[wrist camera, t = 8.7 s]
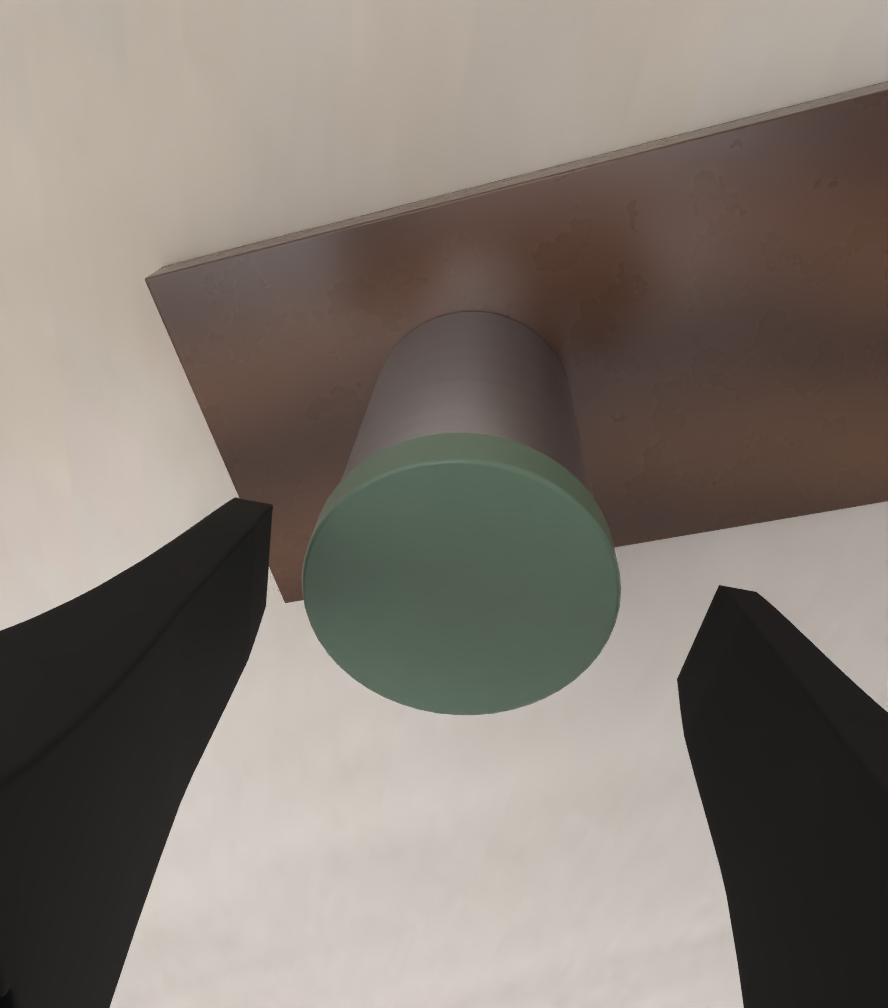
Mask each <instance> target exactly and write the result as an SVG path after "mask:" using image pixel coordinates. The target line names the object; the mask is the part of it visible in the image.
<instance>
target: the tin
mask: <svg viewBox="0 0 888 1008" xmlns="http://www.w3.org/2000/svg"><path fill="white" fill-rule="evenodd" d="M302 593H303V599H304V605H305V609H306V612H307V615H308V618H309V621H310V624H311V626H312V628H313V630H314V632H315V634H316V636H317V638H318V640H319V641H320V643H321V644H322V646H323V647H324V648H325V650H326V651H327V653H328V654H329V655H330V656H331V657H332V659H333V660H334V661H335V662H336V663H337V664H338V665H339V666H340V667H341V668H342V669H343V670H344V671H345V672H347V673H348V674H349V675H350V676H351V677H352V678H354V679H355V680H356V681H358V682H359V683H361V684H362V685H364V686H365V687H367V688H368V689H370V690H372V691H374V692H376V693H377V694H379V695H381V696H383V697H385V698H388V699H390V700H392V701H395V702H397V703H400V704H403V705H406V706H409V707H413V708H416V709H419V710H424V711H429V712H434V713H442V714H452V715H480V714H492V713H497V712H503V711H508V710H513V709H516V708H519V707H523V706H526V705H529V704H532V703H534V702H537V701H539V700H541V699H544V698H546V697H548V696H550V695H552V694H553V693H555V692H557V691H559V690H561V689H562V688H564V687H565V686H566V685H568V684H569V683H571V682H572V681H573V680H575V679H576V678H577V677H578V676H579V675H580V674H582V673H583V672H584V671H585V670H586V669H587V668H588V667H589V666H590V665H591V663H592V662H593V661H594V660H595V659H596V657H597V656H598V655H599V654H600V652H601V650H602V649H603V647H604V646H605V644H606V642H607V641H608V639H609V637H610V634H611V632H612V630H613V627H614V625H615V623H616V619H617V615H618V611H619V607H620V596H621V583H620V572H619V567H618V563H617V559H616V555H615V551H614V546H613V542H612V538H611V534H610V530H609V527H608V524H607V522H606V520H605V517H604V515H603V513H602V510H601V509H600V507H599V506H598V504H597V502H596V501H595V499H594V497H593V493H592V488H591V484H590V479H589V475H588V470H587V465H586V461H585V456H584V452H583V447H582V443H581V438H580V434H579V429H578V424H577V420H576V415H575V411H574V406H573V402H572V397H571V392H570V388H569V384H568V380H567V376H566V374H565V371H564V369H563V366H562V364H561V362H560V361H559V359H558V357H557V356H556V354H555V353H554V351H553V350H552V349H551V348H550V346H549V345H548V344H547V343H546V342H545V341H544V340H543V339H542V338H541V337H540V336H539V335H538V334H536V333H535V332H533V331H532V330H531V329H529V328H528V327H526V326H524V325H523V324H521V323H519V322H517V321H515V320H512V319H510V318H507V317H504V316H501V315H497V314H492V313H486V312H476V311H474V312H458V313H452V314H447V315H444V316H440V317H437V318H434V319H432V320H430V321H428V322H425V323H423V324H422V325H420V326H418V327H417V328H415V329H414V330H412V331H411V332H410V333H408V334H407V335H406V336H405V337H404V338H402V339H401V341H400V342H399V343H398V344H397V345H396V346H395V347H394V348H393V350H392V351H391V353H390V354H389V356H388V357H387V358H386V360H385V362H384V364H383V366H382V368H381V371H380V374H379V377H378V379H377V382H376V385H375V388H374V390H373V393H372V396H371V399H370V402H369V404H368V407H367V410H366V413H365V416H364V418H363V421H362V424H361V427H360V430H359V432H358V435H357V438H356V441H355V443H354V446H353V449H352V452H351V455H350V457H349V460H348V463H347V466H346V469H345V471H344V474H343V477H342V480H341V482H340V483H339V484H338V485H337V486H336V488H335V489H334V491H333V492H332V493H331V495H330V496H329V498H328V499H327V501H326V503H325V505H324V507H323V509H322V511H321V513H320V515H319V517H318V520H317V523H316V525H315V528H314V531H313V533H312V536H311V539H310V541H309V544H308V547H307V551H306V554H305V557H304V563H303V570H302Z"/></svg>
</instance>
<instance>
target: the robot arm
mask: <svg viewBox="0 0 888 1008" xmlns="http://www.w3.org/2000/svg"><path fill="white" fill-rule="evenodd" d="M272 511H273V504H267V503H262V502H256V501H251V500H245V499H239V498H233V499H232V500H230V501H229V502H227V503H226V504H224V505H223V506H221V507H220V508H218V509H217V510H215V511H214V512H212V513H211V514H210V515H208V516H207V517H205V518H204V519H203V520H201V521H200V522H198V523H197V524H196V525H194V526H193V527H191V528H190V529H188V530H187V531H185V532H184V533H183V534H181V535H180V536H178V537H177V538H175V539H174V540H172V541H171V542H169V543H168V544H166V545H165V546H163V547H162V548H160V549H159V550H157V551H156V552H154V553H153V554H151V555H150V556H148V557H147V558H145V559H144V560H142V561H140V562H139V563H137V564H135V565H134V566H132V567H130V568H128V569H127V570H125V571H123V572H122V573H120V574H118V575H117V576H115V577H113V578H112V579H110V580H108V581H106V582H105V583H103V584H101V585H100V586H98V587H96V588H94V589H92V590H90V591H88V592H86V593H84V594H82V595H80V596H78V597H76V598H75V599H73V600H71V601H68V602H66V603H64V604H62V605H60V606H58V607H56V608H53V609H51V610H49V611H47V612H45V613H43V614H41V615H39V616H36V617H34V618H32V619H29V620H27V621H25V622H22V623H20V624H17V625H14V626H12V627H9V628H7V629H4V630H1V631H0V1008H109V1007H110V1004H111V1001H112V998H113V995H114V992H115V989H116V986H117V983H118V980H119V977H120V974H121V971H122V968H123V965H124V962H125V959H126V956H127V953H128V950H129V947H130V944H131V941H132V938H133V935H134V932H135V929H136V926H137V923H138V920H139V917H140V915H141V912H142V909H143V906H144V903H145V900H146V897H147V895H148V892H149V889H150V886H151V883H152V880H153V877H154V874H155V872H156V869H157V866H158V863H159V860H160V858H161V855H162V852H163V849H164V847H165V844H166V841H167V838H168V836H169V833H170V830H171V827H172V825H173V822H174V819H175V816H176V814H177V811H178V808H179V805H180V803H181V800H182V798H183V796H184V794H185V791H186V789H187V787H188V784H189V782H190V780H191V777H192V775H193V773H194V771H195V769H196V767H197V765H198V763H199V761H200V759H201V757H202V755H203V752H204V750H205V748H206V746H207V744H208V742H209V740H210V738H211V736H212V734H213V732H214V730H215V728H216V726H217V724H218V722H219V720H220V717H221V715H222V713H223V711H224V709H225V707H226V705H227V703H228V701H229V699H230V697H231V695H232V693H233V691H234V688H235V686H236V684H237V682H238V680H239V678H240V676H241V674H242V672H243V670H244V667H245V665H246V663H247V661H248V659H249V656H250V653H251V650H252V647H253V644H254V641H255V638H256V635H257V632H258V629H259V626H260V623H261V620H262V617H263V613H264V610H265V607H266V596H267V582H268V567H269V553H270V539H271V525H272ZM677 682H678V691H679V700H680V710H681V717H682V724H683V731H684V737H685V741H686V745H687V749H688V753H689V756H690V760H691V764H692V767H693V771H694V775H695V779H696V782H697V786H698V789H699V793H700V797H701V800H702V804H703V807H704V811H705V814H706V818H707V822H708V825H709V829H710V832H711V836H712V840H713V843H714V847H715V850H716V854H717V858H718V861H719V865H720V869H721V873H722V878H723V882H724V886H725V891H726V895H727V901H728V907H729V913H730V919H731V925H732V931H733V937H734V943H735V949H736V955H737V961H738V968H739V975H740V983H741V990H742V997H743V1004H744V1008H888V712H887V711H885V710H884V709H883V708H882V707H881V706H880V705H878V704H877V703H876V702H875V701H874V700H873V699H872V698H871V697H869V696H868V695H867V694H866V693H865V692H864V691H863V690H862V689H861V688H859V687H858V686H857V685H856V684H855V683H854V682H853V681H852V680H851V679H850V678H849V677H848V676H846V675H845V674H844V673H843V672H842V671H841V670H840V669H839V668H838V667H837V666H836V665H835V664H834V663H833V662H832V661H831V660H829V659H828V658H827V657H826V656H825V655H824V654H823V653H822V652H821V651H820V650H819V649H818V648H817V647H816V646H815V645H814V644H813V643H812V642H811V641H810V640H809V639H808V638H807V637H805V636H804V635H803V634H802V633H801V632H800V631H799V630H798V629H797V628H796V627H795V626H794V625H793V624H792V623H791V622H790V621H789V620H788V619H787V618H786V617H784V616H783V615H782V614H781V613H780V612H779V611H778V610H777V609H776V608H775V607H774V606H772V605H771V604H770V603H769V602H768V601H767V600H766V599H764V598H763V597H762V596H761V595H759V594H758V593H757V592H754V591H748V590H743V589H737V588H732V587H726V586H721V585H719V587H718V589H717V591H716V593H715V595H714V598H713V600H712V602H711V604H710V607H709V609H708V611H707V613H706V616H705V618H704V620H703V622H702V625H701V627H700V629H699V631H698V634H697V636H696V638H695V640H694V643H693V645H692V647H691V649H690V651H689V654H688V656H687V658H686V660H685V663H684V665H683V667H682V669H681V672H680V674H679V676H678V678H677Z"/></svg>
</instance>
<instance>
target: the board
mask: <svg viewBox="0 0 888 1008" xmlns="http://www.w3.org/2000/svg"><path fill="white" fill-rule="evenodd" d="M145 281H146V283H147V286H148V288H149V290H150V293H151V295H152V297H153V300H154V302H155V304H156V306H157V309H158V311H159V313H160V316H161V318H162V320H163V323H164V325H165V327H166V330H167V332H168V334H169V336H170V339H171V341H172V343H173V346H174V348H175V350H176V353H177V355H178V357H179V359H180V362H181V364H182V366H183V369H184V371H185V373H186V376H187V378H188V380H189V383H190V385H191V387H192V389H193V392H194V394H195V396H196V399H197V401H198V403H199V406H200V408H201V410H202V413H203V415H204V417H205V419H206V422H207V424H208V426H209V429H210V431H211V433H212V436H213V438H214V440H215V442H216V445H217V447H218V449H219V452H220V454H221V456H222V459H223V461H224V463H225V466H226V468H227V470H228V472H229V475H230V477H231V479H232V482H233V484H234V486H235V489H236V491H237V493H238V495H239V498H240V499H245V500H251V501H256V502H262V503H267V504H273V511H272V525H271V539H270V553H269V567H270V569H271V572H272V574H273V576H274V578H275V581H276V583H277V585H278V588H279V590H280V592H281V595H282V597H283V599H284V602H285V603H288V602H294V601H300V600H304V599H303V593H302V570H303V563H304V557H305V554H306V551H307V547H308V544H309V541H310V539H311V536H312V533H313V531H314V528H315V525H316V523H317V520H318V517H319V515H320V513H321V511H322V509H323V507H324V505H325V503H326V501H327V499H328V498H329V496H330V495H331V493H332V492H333V491H334V489H335V488H336V486H337V485H338V484H339V483H340V482H341V480H342V477H343V474H344V471H345V469H346V466H347V463H348V460H349V457H350V455H351V452H352V449H353V446H354V443H355V441H356V438H357V435H358V432H359V430H360V427H361V424H362V421H363V418H364V416H365V413H366V410H367V407H368V404H369V402H370V399H371V396H372V393H373V390H374V388H375V385H376V382H377V379H378V377H379V374H380V371H381V368H382V366H383V364H384V362H385V360H386V358H387V357H388V356H389V354H390V353H391V351H392V350H393V348H394V347H395V346H396V345H397V344H398V343H399V342H400V341H401V339H402V338H404V337H405V336H406V335H407V334H408V333H410V332H411V331H412V330H414V329H415V328H417V327H418V326H420V325H422V324H423V323H425V322H428V321H430V320H432V319H434V318H437V317H440V316H444V315H447V314H452V313H458V312H474V311H476V312H486V313H492V314H497V315H501V316H504V317H507V318H510V319H512V320H515V321H517V322H519V323H521V324H523V325H524V326H526V327H528V328H529V329H531V330H532V331H533V332H535V333H536V334H538V335H539V336H540V337H541V338H542V339H543V340H544V341H545V342H546V343H547V344H548V345H549V346H550V348H551V349H552V350H553V351H554V353H555V354H556V356H557V357H558V359H559V361H560V362H561V364H562V366H563V369H564V371H565V374H566V376H567V380H568V384H569V388H570V392H571V397H572V402H573V406H574V411H575V415H576V420H577V424H578V429H579V434H580V438H581V443H582V447H583V452H584V456H585V461H586V465H587V470H588V475H589V479H590V484H591V488H592V493H593V497H594V499H595V501H596V502H597V504H598V506H599V507H600V509H601V510H602V513H603V515H604V517H605V520H606V522H607V524H608V527H609V530H610V534H611V538H612V542H613V546H614V547H619V546H625V545H631V544H637V543H643V542H649V541H655V540H661V539H666V538H672V537H678V536H684V535H690V534H696V533H702V532H708V531H714V530H720V529H726V528H732V527H737V526H743V525H749V524H755V523H761V522H767V521H773V520H779V519H785V518H791V517H797V516H802V515H808V514H814V513H820V512H826V511H832V510H838V509H844V508H850V507H856V506H862V505H868V504H873V503H879V502H885V501H888V81H887V82H883V83H879V84H876V85H872V86H868V87H864V88H860V89H856V90H852V91H848V92H844V93H840V94H836V95H833V96H829V97H825V98H821V99H817V100H813V101H809V102H805V103H801V104H797V105H793V106H790V107H786V108H782V109H778V110H774V111H770V112H766V113H762V114H758V115H754V116H750V117H747V118H743V119H739V120H735V121H731V122H727V123H723V124H719V125H715V126H711V127H707V128H704V129H700V130H696V131H692V132H688V133H684V134H680V135H676V136H672V137H668V138H664V139H661V140H657V141H653V142H649V143H645V144H641V145H637V146H633V147H629V148H625V149H621V150H618V151H614V152H610V153H606V154H602V155H598V156H594V157H590V158H586V159H582V160H578V161H575V162H571V163H567V164H563V165H559V166H555V167H551V168H547V169H543V170H539V171H535V172H532V173H528V174H524V175H520V176H516V177H512V178H508V179H504V180H500V181H496V182H492V183H489V184H485V185H481V186H477V187H473V188H469V189H465V190H461V191H457V192H453V193H449V194H446V195H442V196H438V197H434V198H430V199H426V200H422V201H418V202H414V203H410V204H406V205H403V206H399V207H395V208H391V209H387V210H383V211H379V212H375V213H371V214H367V215H363V216H360V217H356V218H352V219H348V220H344V221H340V222H336V223H332V224H328V225H324V226H320V227H317V228H313V229H309V230H305V231H301V232H297V233H293V234H289V235H285V236H281V237H277V238H274V239H270V240H266V241H262V242H258V243H254V244H250V245H246V246H242V247H238V248H234V249H231V250H227V251H223V252H219V253H215V254H211V255H207V256H203V257H199V258H195V259H191V260H188V261H184V262H180V263H176V264H172V265H168V266H164V267H162V268H160V269H159V270H157V271H156V272H154V273H153V274H151V275H150V276H148V277H147V278H145Z"/></svg>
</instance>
